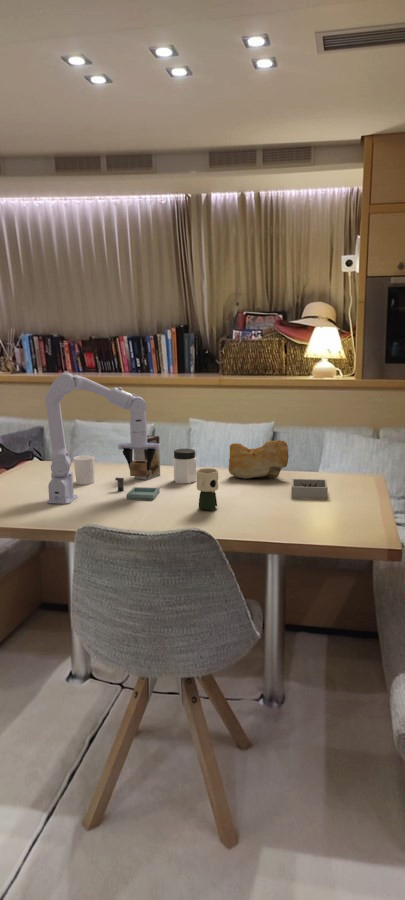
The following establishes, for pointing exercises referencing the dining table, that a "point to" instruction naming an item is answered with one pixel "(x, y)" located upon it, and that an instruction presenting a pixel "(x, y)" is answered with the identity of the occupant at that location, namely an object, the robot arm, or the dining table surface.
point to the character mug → (207, 487)
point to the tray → (143, 493)
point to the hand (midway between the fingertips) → (140, 469)
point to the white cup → (84, 469)
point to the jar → (184, 466)
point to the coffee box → (155, 465)
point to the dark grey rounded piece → (120, 484)
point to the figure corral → (309, 489)
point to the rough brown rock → (258, 460)
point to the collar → (139, 468)
